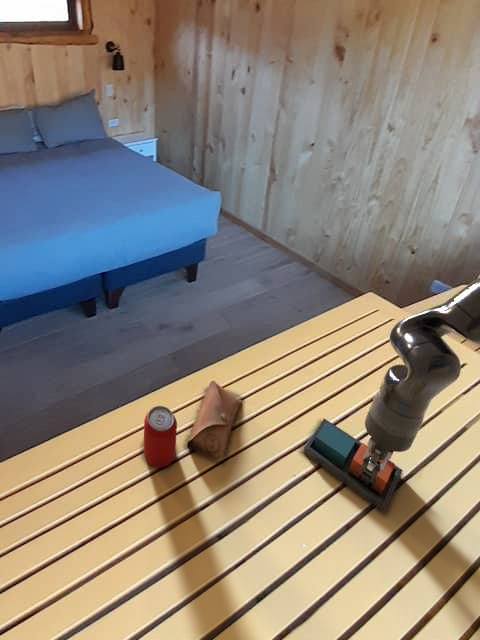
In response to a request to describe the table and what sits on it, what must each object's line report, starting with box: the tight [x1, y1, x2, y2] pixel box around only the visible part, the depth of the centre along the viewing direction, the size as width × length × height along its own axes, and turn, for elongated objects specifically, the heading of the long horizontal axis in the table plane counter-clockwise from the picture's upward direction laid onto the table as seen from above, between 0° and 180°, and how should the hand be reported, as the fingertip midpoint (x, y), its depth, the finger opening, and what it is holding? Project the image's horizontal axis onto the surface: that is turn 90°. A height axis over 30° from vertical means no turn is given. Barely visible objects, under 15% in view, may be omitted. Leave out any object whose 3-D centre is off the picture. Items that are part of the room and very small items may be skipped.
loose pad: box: [349, 442, 396, 494], centre depth 80 cm, size 6×5×4 cm
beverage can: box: [143, 405, 178, 468], centre depth 84 cm, size 7×7×12 cm
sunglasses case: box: [186, 380, 243, 460], centre depth 92 cm, size 18×7×7 cm, turn 153°
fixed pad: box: [313, 422, 355, 469], centre depth 85 cm, size 6×5×4 cm
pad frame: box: [302, 418, 404, 513], centre depth 83 cm, size 16×10×3 cm, turn 43°
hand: (370, 471), depth 80 cm, fingers closed on loose pad, 5 cm apart
